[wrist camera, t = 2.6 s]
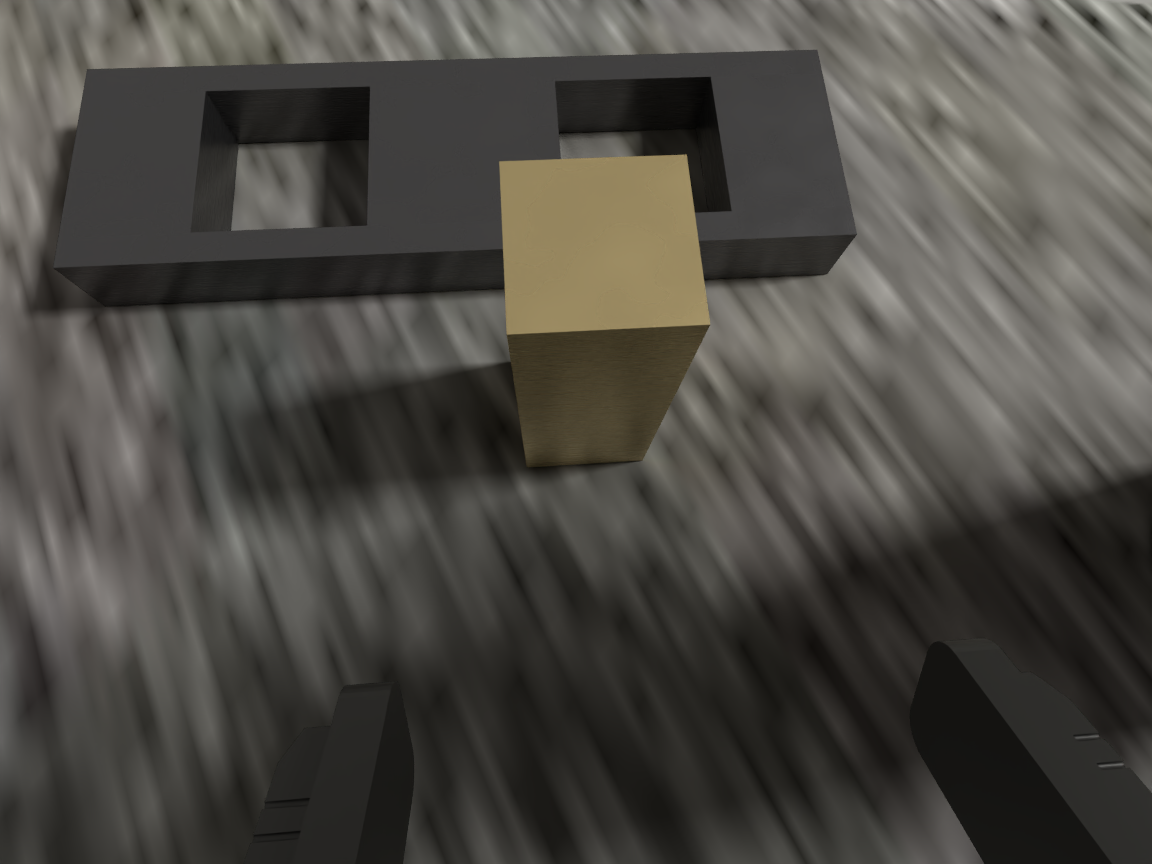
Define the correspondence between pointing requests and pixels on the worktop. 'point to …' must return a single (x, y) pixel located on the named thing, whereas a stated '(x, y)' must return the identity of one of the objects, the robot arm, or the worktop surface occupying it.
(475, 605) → the worktop surface
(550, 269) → the brass peg
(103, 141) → the grey peg board
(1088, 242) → the worktop surface
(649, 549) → the worktop surface
